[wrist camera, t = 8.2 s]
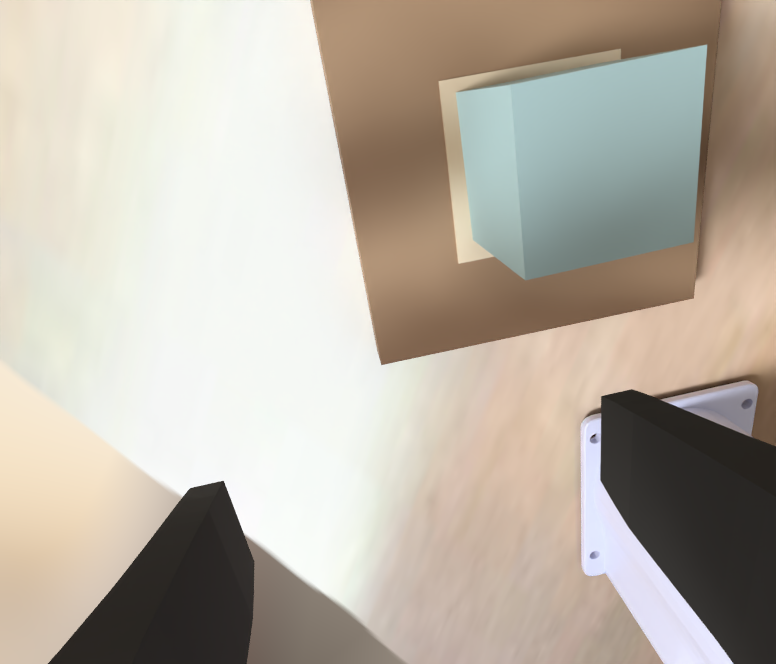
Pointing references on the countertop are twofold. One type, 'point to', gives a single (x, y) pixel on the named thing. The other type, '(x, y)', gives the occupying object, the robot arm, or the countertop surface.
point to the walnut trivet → (446, 164)
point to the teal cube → (585, 161)
